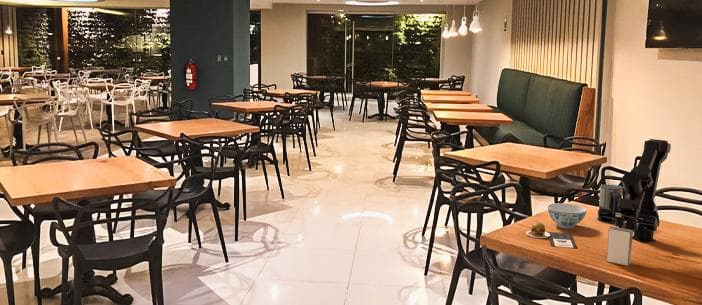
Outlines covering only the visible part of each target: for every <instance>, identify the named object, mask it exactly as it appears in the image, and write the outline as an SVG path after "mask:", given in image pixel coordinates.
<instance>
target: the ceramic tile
mask: <svg viewBox="0 0 702 305" xmlns="http://www.w3.org/2000/svg"><path fill="white" fill-rule="evenodd" d="M632 236H634V231H633V230H630V229H624V228H619V227H617V226H613V225H611V226H609V227H608V238H607V251H606V253H607V254H606V262H608V263H612V264H616V265H621V266H626V267H629V266H630V265H631V261H632V248H633V247H632V246H633V238H632Z"/></svg>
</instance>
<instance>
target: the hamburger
mask: <svg viewBox="0 0 702 305" xmlns="http://www.w3.org/2000/svg"><path fill="white" fill-rule="evenodd" d="M530 229H531V230H529V231H526V232H525V233H526V235H528V237H531V238H535V239H546V238H549V236H550V234H549V233H547V232H548V231H547V229H546V226H545V224H543V223H542V222H534V223H532V224H531V227H530ZM546 231H547V232H546Z"/></svg>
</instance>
